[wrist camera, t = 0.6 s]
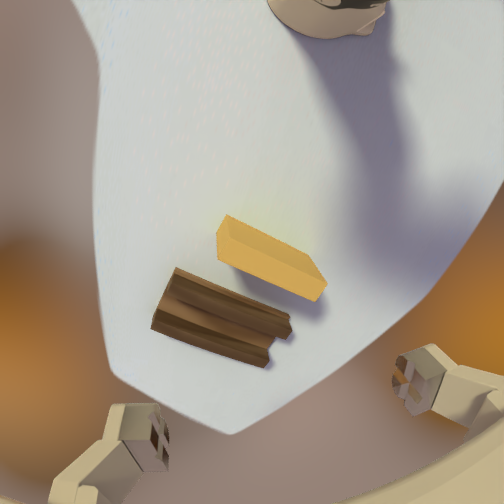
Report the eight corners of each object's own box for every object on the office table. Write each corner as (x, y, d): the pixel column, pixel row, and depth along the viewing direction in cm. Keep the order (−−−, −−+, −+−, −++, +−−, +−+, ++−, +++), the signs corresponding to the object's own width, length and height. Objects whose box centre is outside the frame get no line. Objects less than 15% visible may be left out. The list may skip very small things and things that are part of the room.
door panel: (226, 214, 42) (229, 237, 34) (308, 254, 47) (327, 283, 38) (216, 232, 43) (217, 259, 35) (298, 270, 47) (315, 302, 39)
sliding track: (175, 267, 45) (173, 280, 41) (288, 314, 50) (294, 328, 47) (153, 316, 48) (149, 331, 44) (258, 354, 53) (262, 370, 50)
